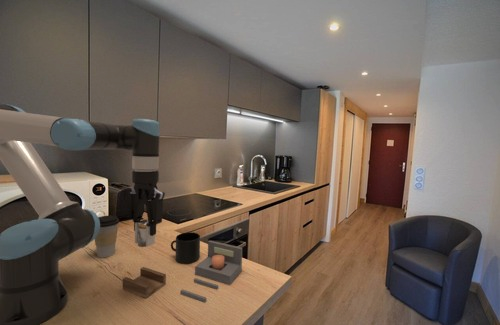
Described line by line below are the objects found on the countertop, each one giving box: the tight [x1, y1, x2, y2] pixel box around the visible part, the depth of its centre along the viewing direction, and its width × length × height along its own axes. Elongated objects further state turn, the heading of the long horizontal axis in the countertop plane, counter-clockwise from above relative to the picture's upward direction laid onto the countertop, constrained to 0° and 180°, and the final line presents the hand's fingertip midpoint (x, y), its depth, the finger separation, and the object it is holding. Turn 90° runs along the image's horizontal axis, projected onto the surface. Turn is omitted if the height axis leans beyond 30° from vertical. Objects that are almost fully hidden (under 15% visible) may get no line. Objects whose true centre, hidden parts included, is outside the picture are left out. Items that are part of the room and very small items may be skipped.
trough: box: [121, 266, 167, 299], centre depth 74 cm, size 8×10×3 cm
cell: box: [137, 218, 148, 248], centre depth 73 cm, size 4×4×8 cm
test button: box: [212, 255, 224, 271], centre depth 83 cm, size 4×4×4 cm
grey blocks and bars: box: [179, 240, 243, 303], centre depth 79 cm, size 20×14×9 cm
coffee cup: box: [94, 214, 120, 258], centre depth 94 cm, size 9×9×15 cm
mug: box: [170, 231, 201, 264], centre depth 94 cm, size 9×12×9 cm
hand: (144, 243), depth 73 cm, fingers closed on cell, 4 cm apart
